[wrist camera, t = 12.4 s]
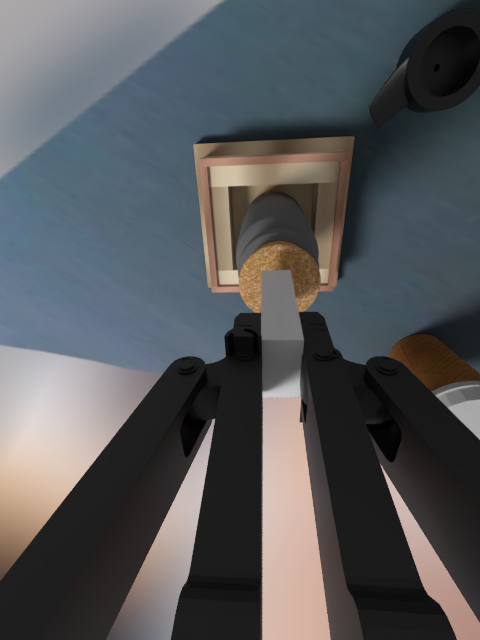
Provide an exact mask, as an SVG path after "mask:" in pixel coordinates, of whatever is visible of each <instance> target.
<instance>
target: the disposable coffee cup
mask: <svg viewBox="0 0 480 640" xmlns="http://www.w3.org/2000/svg"><path fill="white" fill-rule="evenodd" d="M390 358H393V359H395V360H398V361H400V362H401V363H402V364H404V365H405V366H406V367H407V368H408V369H409V370H410V371H411V372H412V373H413V374H414V375H415V376H416V377H417V378H418V379H419V380H420V381H421V382H422V383H423V384H424V385H425V386H426V387H427V388H428V389H429V390H430V391H431V392H432V393H433V394H434V395H435V396H436V397H437V398H438V399H439V400H440V401H441V402H442V403H443V404H444V405H445V406H446V407H447V408H448V409H449V410H450V411H451V412H452V413H453V414H454V415H455V416H456V417H457V418H458V419H459V420H460V421H461V422H462V423H463V424H464V425H465V426H466V427H467V428H469V429H470V430H471V431H472V432H473V433H474V434H475V435H476V436H477V437H478V438H479V439H480V373H478V372H477V371H476V370H475V369H474V368H472V367H471V366H470V365H469V364H467V363H466V362H465V361H464V360H463V359H461V358H460V357H459V356H458V355H457V354H455V353H454V352H453V351H452V350H451V349H449V348H448V347H447V346H446V345H445V344H443V343H442V342H441V341H440V340H439V339H438V338H436V337H434V336H432V335H429V334H416V335H412V336H409V337H406V338H404V339H402V340H401V341H399V342H398V343H397V344H396V345H395V346H394V347H393V349H392V350H391V353H390Z"/></svg>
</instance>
